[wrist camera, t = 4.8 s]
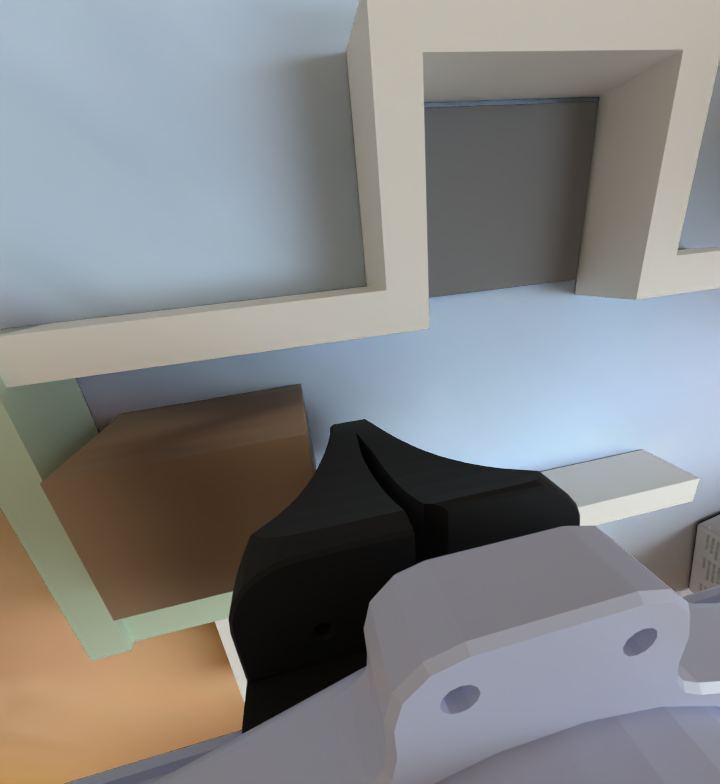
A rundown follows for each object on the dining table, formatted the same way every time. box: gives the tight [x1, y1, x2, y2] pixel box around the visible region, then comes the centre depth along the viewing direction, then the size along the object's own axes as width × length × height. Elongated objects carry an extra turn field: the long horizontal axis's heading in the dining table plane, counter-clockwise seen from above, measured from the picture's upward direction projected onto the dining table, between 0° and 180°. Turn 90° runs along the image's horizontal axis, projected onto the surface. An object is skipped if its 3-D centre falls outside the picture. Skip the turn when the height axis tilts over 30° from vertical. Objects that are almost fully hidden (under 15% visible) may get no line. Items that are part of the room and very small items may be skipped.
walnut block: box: [40, 384, 316, 621], centre depth 11 cm, size 6×4×4 cm
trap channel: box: [0, 0, 720, 703], centre depth 12 cm, size 24×23×3 cm
